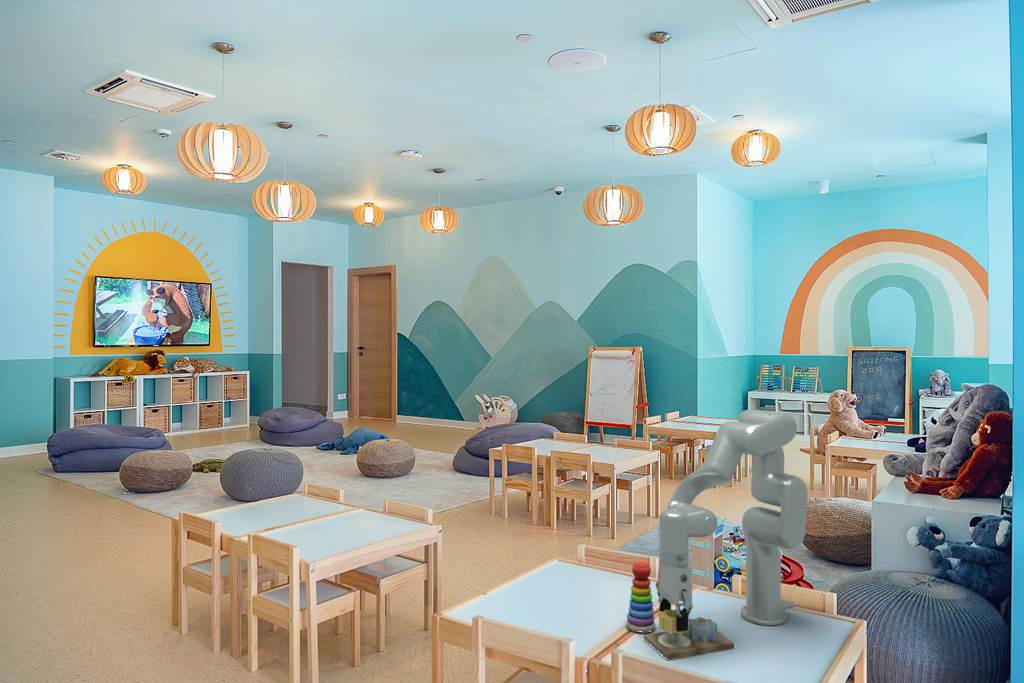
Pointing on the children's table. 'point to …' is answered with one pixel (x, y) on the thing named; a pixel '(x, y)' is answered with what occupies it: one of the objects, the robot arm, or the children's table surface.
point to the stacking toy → (641, 600)
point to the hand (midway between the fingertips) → (673, 623)
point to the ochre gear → (669, 621)
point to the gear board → (686, 644)
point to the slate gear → (702, 630)
